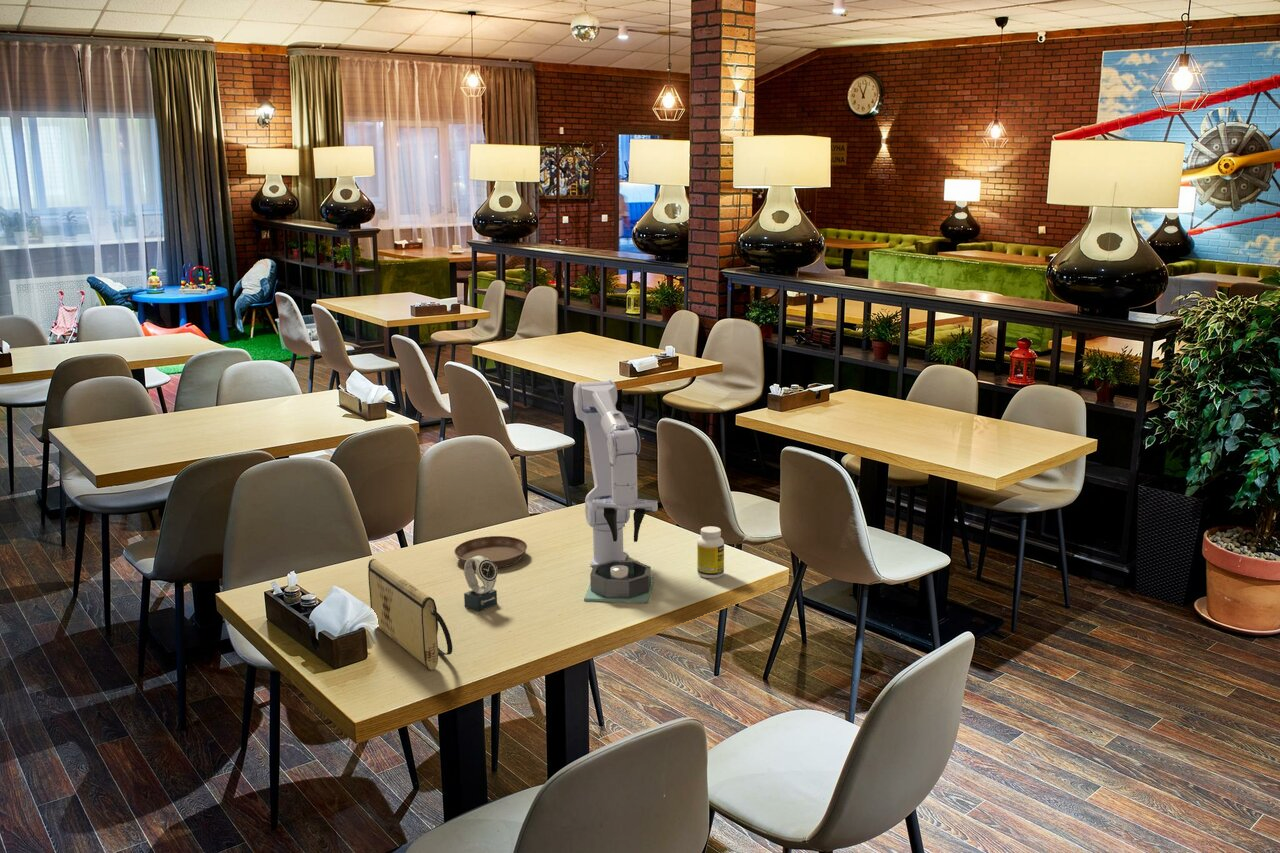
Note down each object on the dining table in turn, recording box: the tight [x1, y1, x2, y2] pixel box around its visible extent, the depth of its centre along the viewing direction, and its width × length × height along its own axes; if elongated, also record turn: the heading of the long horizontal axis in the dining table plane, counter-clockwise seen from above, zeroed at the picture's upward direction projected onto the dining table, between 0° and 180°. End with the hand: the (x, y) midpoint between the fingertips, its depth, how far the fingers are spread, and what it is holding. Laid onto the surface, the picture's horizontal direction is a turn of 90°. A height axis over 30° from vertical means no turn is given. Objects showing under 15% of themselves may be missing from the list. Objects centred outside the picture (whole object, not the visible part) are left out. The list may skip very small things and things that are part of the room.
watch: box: [463, 556, 499, 612], centre depth 230 cm, size 6×8×11 cm
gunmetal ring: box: [589, 559, 652, 599], centre depth 238 cm, size 13×13×4 cm
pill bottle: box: [696, 525, 725, 579], centre depth 246 cm, size 6×6×11 cm
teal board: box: [583, 576, 655, 603], centre depth 239 cm, size 14×14×1 cm
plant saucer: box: [453, 535, 528, 569], centre depth 260 cm, size 18×18×3 cm
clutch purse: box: [367, 558, 453, 671], centre depth 211 cm, size 30×7×15 cm, turn 36°
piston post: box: [610, 565, 628, 580], centre depth 238 cm, size 4×4×4 cm
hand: (625, 540), depth 240 cm, fingers open, 4 cm apart
